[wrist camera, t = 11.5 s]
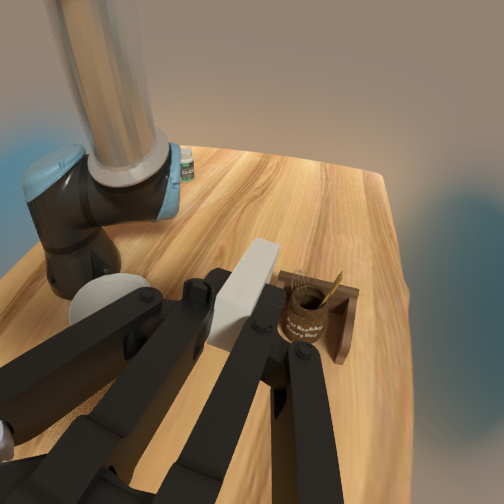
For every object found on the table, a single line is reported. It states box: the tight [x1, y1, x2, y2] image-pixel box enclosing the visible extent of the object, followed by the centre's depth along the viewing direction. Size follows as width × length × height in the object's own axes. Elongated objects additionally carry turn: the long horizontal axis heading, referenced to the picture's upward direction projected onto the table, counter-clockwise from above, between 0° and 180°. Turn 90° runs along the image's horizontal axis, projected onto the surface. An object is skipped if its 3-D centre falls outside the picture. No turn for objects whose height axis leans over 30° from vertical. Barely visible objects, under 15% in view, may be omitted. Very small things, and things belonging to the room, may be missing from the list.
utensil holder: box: [284, 270, 343, 344], centre depth 41 cm, size 6×6×12 cm
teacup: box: [68, 273, 151, 326], centre depth 39 cm, size 15×12×8 cm
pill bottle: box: [180, 149, 194, 183], centre depth 81 cm, size 5×5×8 cm
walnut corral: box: [276, 270, 359, 365], centre depth 44 cm, size 11×12×5 cm
